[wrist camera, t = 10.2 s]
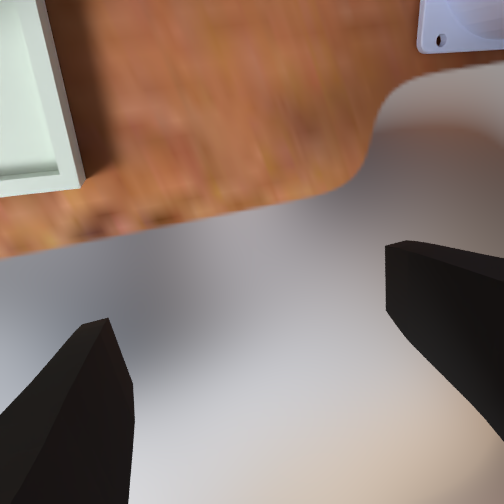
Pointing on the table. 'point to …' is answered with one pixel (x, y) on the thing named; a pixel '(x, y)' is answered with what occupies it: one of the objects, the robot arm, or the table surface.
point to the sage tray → (33, 106)
